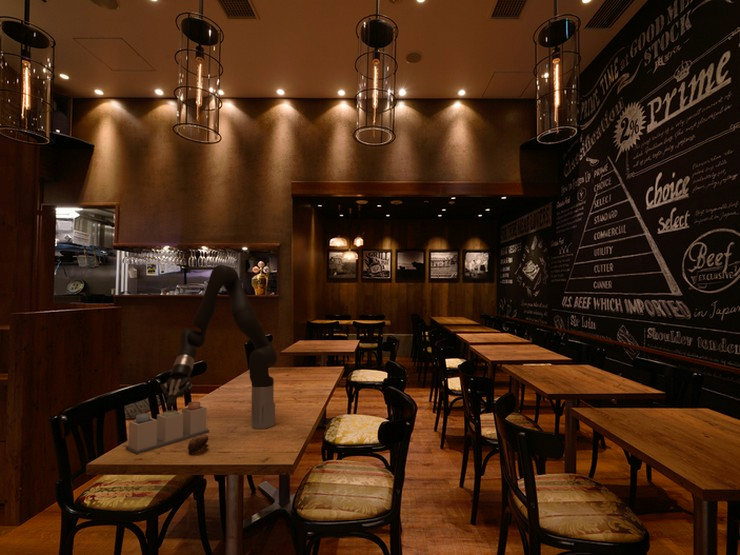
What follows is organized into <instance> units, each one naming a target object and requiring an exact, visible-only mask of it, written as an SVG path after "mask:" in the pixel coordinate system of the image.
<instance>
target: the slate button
mask: <svg viewBox="0 0 740 555" xmlns="http://www.w3.org/2000/svg"><path fill="white" fill-rule="evenodd" d="M150 418H151V413H150V412H142V413H138V414H136V415H135V420H136V423H137V424H141V423H145V422H149V421H150Z"/></svg>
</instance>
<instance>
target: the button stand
mask: <svg viewBox="0 0 740 555" xmlns="http://www.w3.org/2000/svg"><path fill="white" fill-rule="evenodd" d="M207 408H208V407H206V406H203V405H200V409H197V410H193V411H190V410H188V407H184V408H181V412H180V411H177V415H173V416H169V417H165V416H163V413H159V414H156V418H152V417H150V421H149V422H145V423H141V424H137V423H136V419H135V420H131V421H128V445H126V446H125V450H126V451H128V452H130V453H132V454H135V455H141V454H143V452H144V453H146V452H149V451H153V450H156V449H160V448H163V447H167V446H170V445H172V444H176V443H179V442H182V441H187V440H189V439H192V438H194V437H196V436H198V435H206V434H208V433H209V434H210V429H208V428H207V416H208V415H207V413H208V411H207V410H208V409H207ZM140 453H141V454H140Z"/></svg>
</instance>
